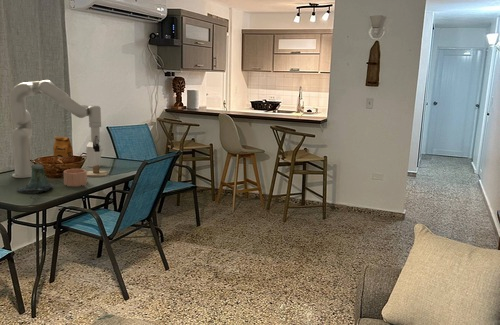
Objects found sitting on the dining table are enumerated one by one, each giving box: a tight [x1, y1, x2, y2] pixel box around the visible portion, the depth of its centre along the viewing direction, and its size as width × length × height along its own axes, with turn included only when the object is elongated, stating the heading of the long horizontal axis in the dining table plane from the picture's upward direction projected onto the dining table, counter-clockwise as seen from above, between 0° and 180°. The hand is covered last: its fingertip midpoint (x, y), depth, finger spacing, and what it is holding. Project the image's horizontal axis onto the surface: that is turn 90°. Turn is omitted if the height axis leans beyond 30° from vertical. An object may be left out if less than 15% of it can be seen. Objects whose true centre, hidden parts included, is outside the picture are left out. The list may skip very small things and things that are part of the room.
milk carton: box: [85, 139, 102, 168], centre depth 318 cm, size 7×7×19 cm
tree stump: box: [16, 163, 54, 194], centre depth 252 cm, size 18×20×18 cm
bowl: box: [63, 168, 88, 187], centre depth 270 cm, size 13×13×8 cm
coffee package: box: [52, 136, 74, 157], centre depth 309 cm, size 10×12×22 cm
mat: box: [87, 172, 111, 179], centre depth 294 cm, size 16×16×1 cm
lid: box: [86, 165, 109, 178], centre depth 294 cm, size 15×15×6 cm
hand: (96, 150), depth 291 cm, fingers open, 9 cm apart
